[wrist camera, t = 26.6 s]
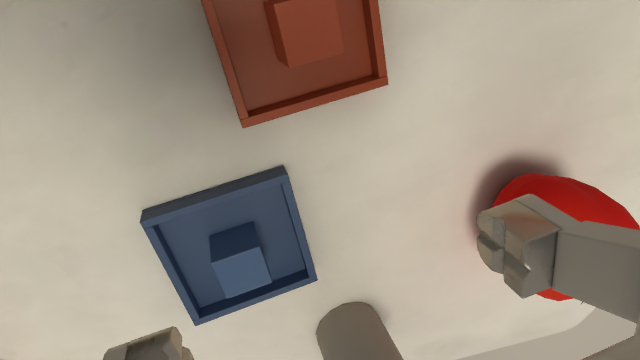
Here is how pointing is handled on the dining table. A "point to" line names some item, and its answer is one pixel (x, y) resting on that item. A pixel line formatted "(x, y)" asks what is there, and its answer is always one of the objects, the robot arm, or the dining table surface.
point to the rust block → (304, 30)
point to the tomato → (568, 205)
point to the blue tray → (220, 215)
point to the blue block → (239, 260)
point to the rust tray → (300, 81)
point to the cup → (355, 335)
